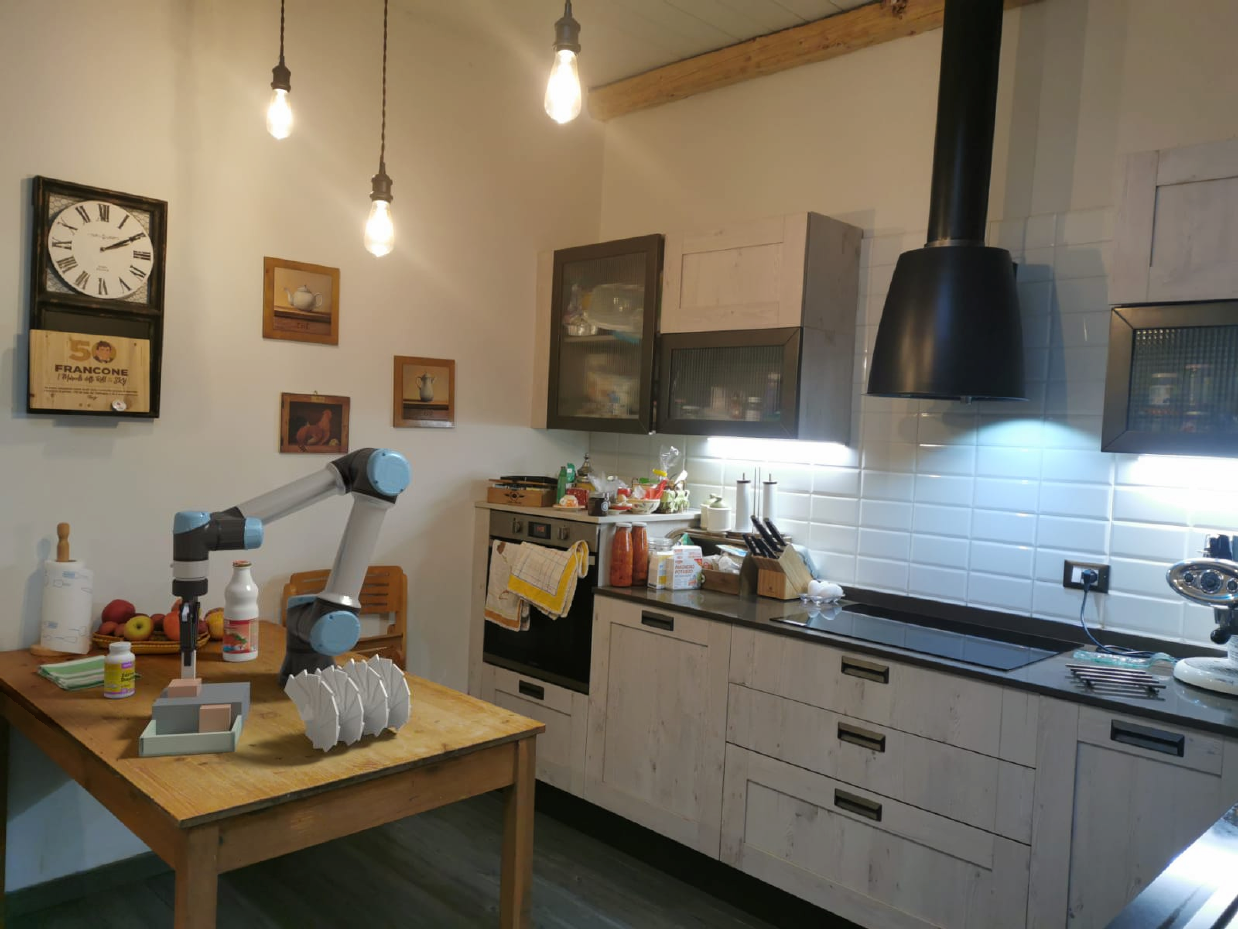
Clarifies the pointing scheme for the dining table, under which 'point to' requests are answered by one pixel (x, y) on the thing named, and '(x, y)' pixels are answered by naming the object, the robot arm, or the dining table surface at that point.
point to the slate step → (185, 710)
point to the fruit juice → (240, 616)
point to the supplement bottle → (119, 671)
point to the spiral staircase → (350, 701)
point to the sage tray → (188, 741)
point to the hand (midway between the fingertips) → (188, 678)
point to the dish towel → (77, 673)
